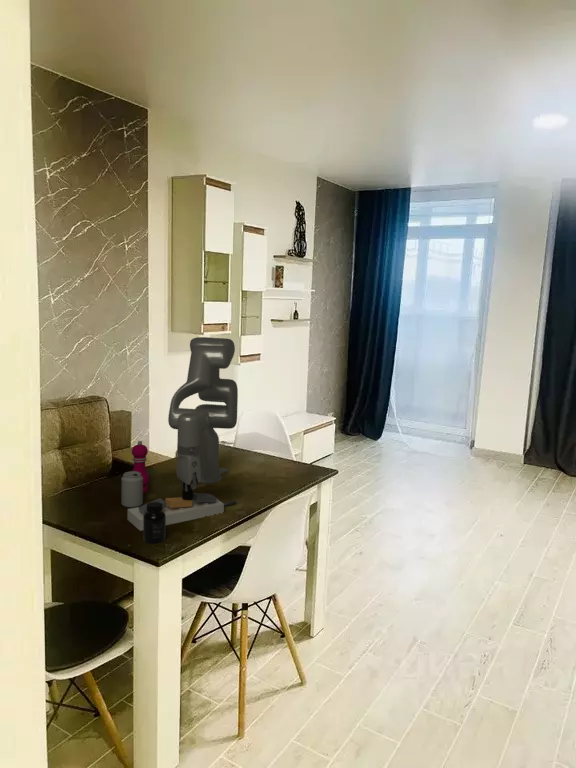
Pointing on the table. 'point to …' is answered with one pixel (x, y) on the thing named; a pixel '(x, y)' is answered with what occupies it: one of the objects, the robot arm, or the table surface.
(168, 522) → the power strip
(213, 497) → the block
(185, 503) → the rocker
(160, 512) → the supplement bottle
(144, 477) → the pepper mill
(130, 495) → the can
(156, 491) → the table surface
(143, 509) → the block
